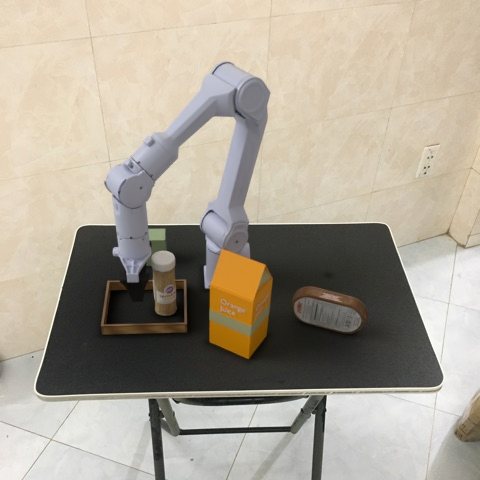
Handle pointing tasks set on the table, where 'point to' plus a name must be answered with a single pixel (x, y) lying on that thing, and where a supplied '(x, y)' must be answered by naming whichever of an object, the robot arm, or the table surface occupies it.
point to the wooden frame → (148, 326)
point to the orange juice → (239, 303)
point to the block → (157, 242)
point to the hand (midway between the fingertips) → (138, 288)
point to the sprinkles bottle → (164, 282)
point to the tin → (329, 310)
